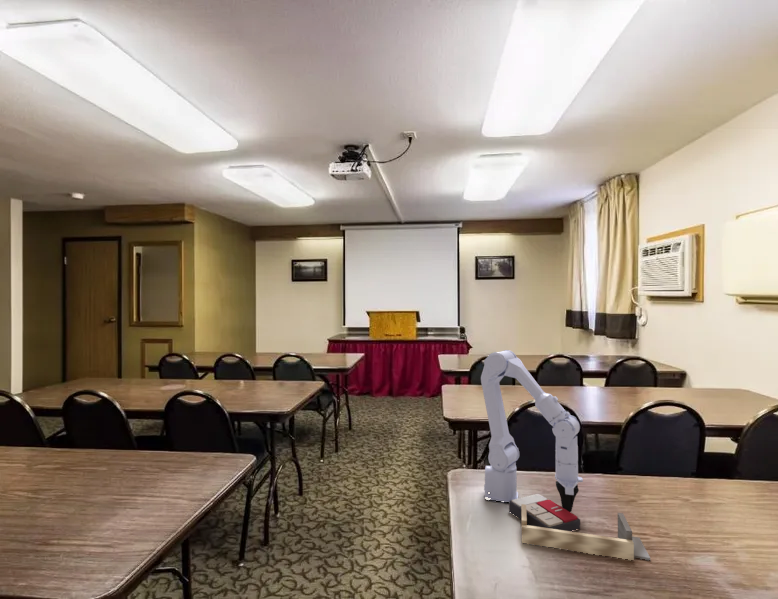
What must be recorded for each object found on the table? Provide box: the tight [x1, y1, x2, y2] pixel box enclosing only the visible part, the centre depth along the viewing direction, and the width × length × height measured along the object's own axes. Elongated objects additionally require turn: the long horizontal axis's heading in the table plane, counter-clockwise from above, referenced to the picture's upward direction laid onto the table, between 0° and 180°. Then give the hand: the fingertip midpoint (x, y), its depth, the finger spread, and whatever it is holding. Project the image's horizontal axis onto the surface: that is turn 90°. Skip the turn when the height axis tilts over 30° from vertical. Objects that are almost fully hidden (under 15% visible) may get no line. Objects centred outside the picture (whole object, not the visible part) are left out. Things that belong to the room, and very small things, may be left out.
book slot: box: [521, 504, 651, 561], centre depth 103 cm, size 28×10×6 cm, turn 73°
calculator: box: [508, 493, 581, 531], centre depth 114 cm, size 11×4×15 cm
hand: (567, 510), depth 116 cm, fingers closed
